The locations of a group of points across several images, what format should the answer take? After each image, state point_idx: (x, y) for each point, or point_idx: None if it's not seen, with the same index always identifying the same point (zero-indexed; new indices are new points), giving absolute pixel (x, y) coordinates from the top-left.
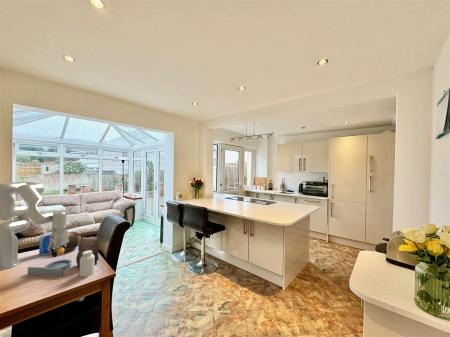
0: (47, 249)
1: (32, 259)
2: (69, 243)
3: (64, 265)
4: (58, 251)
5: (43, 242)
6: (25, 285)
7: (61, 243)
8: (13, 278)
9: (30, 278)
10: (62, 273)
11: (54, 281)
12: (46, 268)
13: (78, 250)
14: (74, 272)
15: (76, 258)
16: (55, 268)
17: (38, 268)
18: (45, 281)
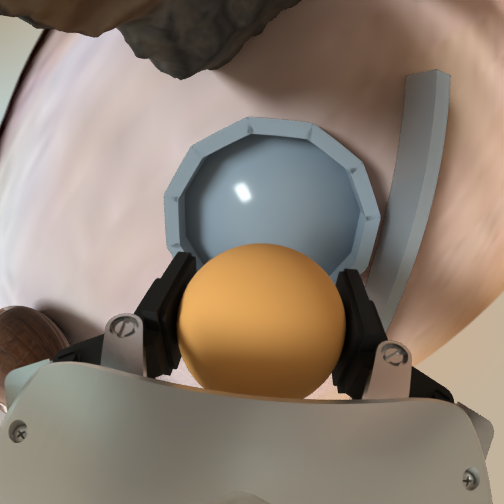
0: None
1: None
2: (34, 353)
3: (249, 176)
4: (336, 312)
5: None
6: (481, 250)
7: (308, 473)
8: None
9: (412, 290)
10: (418, 74)
11: (471, 93)
12: (416, 245)
13: (144, 11)
14: (349, 10)
15: (210, 52)
16: (430, 153)
17: (393, 312)
18: (468, 158)
